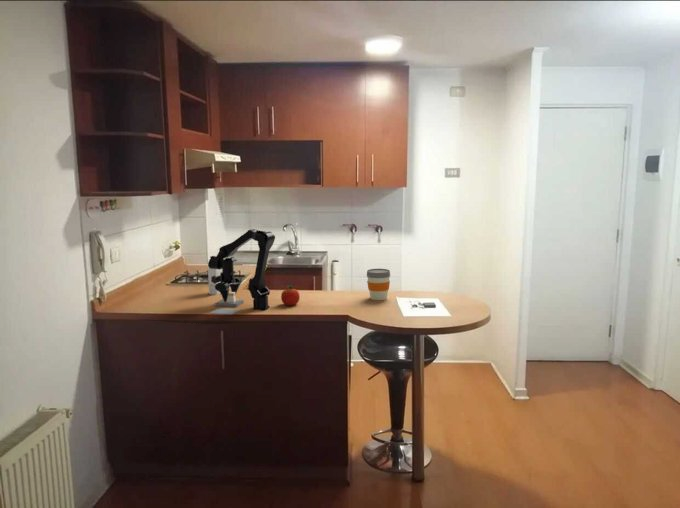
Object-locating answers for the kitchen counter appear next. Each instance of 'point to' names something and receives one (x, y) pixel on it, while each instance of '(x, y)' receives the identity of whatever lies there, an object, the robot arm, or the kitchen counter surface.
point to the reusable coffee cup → (378, 283)
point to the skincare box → (211, 285)
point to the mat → (224, 311)
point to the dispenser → (229, 303)
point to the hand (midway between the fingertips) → (229, 299)
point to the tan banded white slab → (231, 297)
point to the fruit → (290, 296)
